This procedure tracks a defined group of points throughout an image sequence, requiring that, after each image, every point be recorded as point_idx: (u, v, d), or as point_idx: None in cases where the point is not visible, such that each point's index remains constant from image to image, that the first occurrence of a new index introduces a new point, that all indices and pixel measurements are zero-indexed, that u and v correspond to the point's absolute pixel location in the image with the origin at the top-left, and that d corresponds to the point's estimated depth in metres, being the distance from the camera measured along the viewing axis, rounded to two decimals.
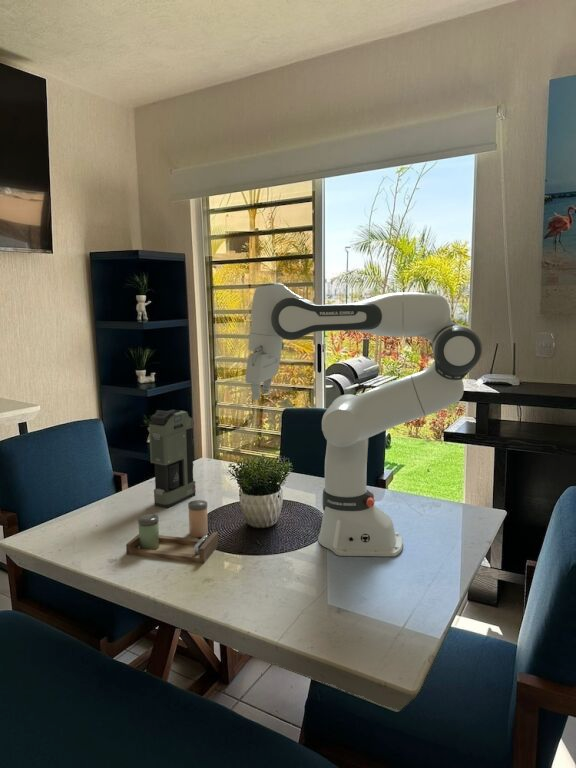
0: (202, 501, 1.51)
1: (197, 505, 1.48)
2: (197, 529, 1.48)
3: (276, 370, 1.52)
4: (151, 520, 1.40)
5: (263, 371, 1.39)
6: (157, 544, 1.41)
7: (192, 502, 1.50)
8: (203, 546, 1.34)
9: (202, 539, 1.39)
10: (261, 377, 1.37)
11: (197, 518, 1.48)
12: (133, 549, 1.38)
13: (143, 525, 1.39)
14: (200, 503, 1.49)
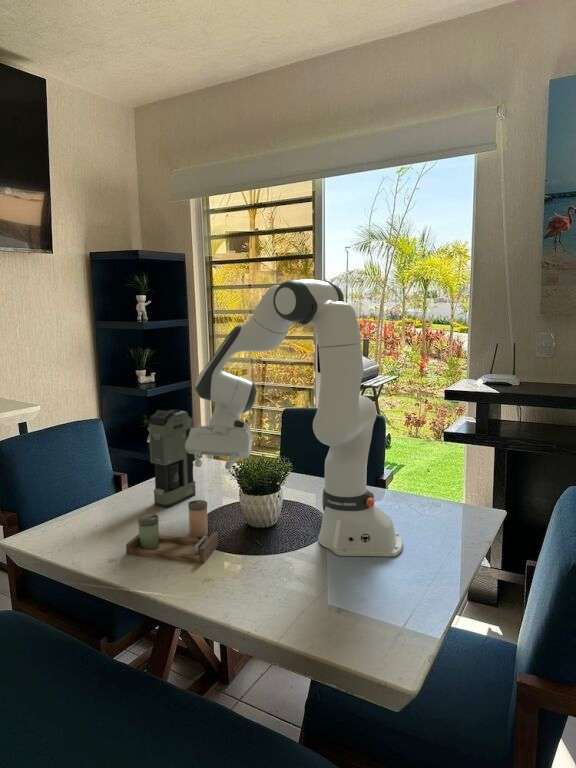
0: (202, 501, 1.51)
1: (197, 505, 1.48)
2: (197, 529, 1.48)
3: (240, 447, 1.61)
4: (151, 520, 1.40)
5: (198, 440, 1.65)
6: (157, 544, 1.41)
7: (192, 502, 1.50)
8: (203, 546, 1.34)
9: (202, 539, 1.39)
10: (192, 443, 1.64)
11: (197, 518, 1.48)
12: (133, 549, 1.38)
13: (143, 525, 1.39)
14: (200, 503, 1.49)
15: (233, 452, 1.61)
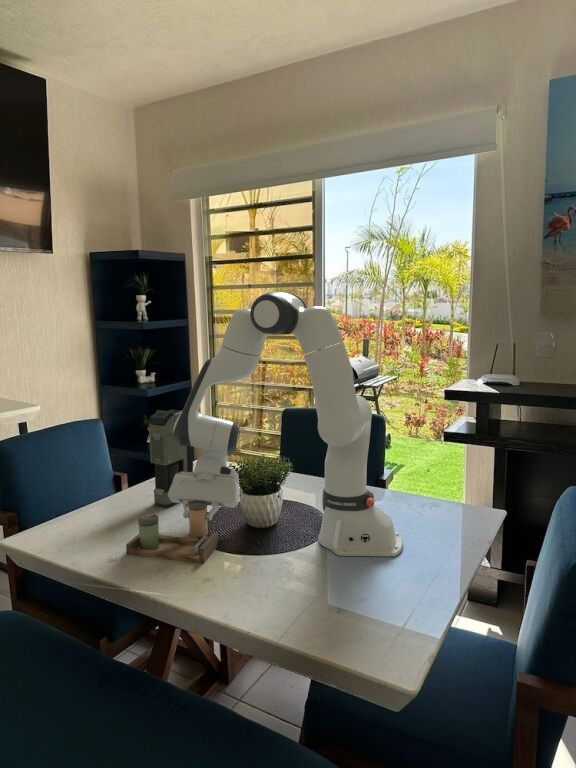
0: (202, 501, 1.51)
1: (197, 505, 1.48)
2: (197, 529, 1.48)
3: (227, 496, 1.50)
4: (151, 520, 1.40)
5: (182, 488, 1.54)
6: (157, 544, 1.41)
7: (192, 502, 1.50)
8: (203, 546, 1.34)
9: (202, 539, 1.39)
10: (175, 492, 1.53)
11: (197, 517, 1.48)
12: (133, 549, 1.38)
13: (143, 525, 1.39)
14: (200, 503, 1.49)
15: (219, 502, 1.50)
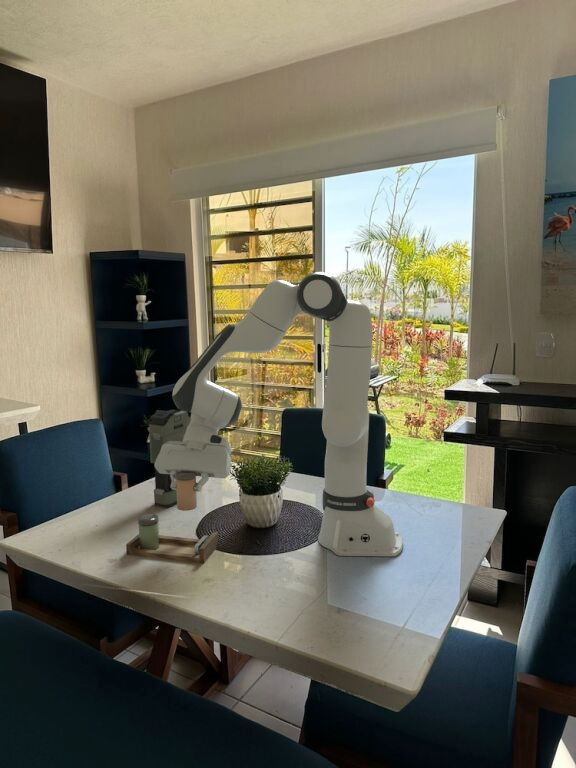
0: None
1: (185, 475, 1.38)
2: (185, 501, 1.38)
3: (217, 466, 1.40)
4: (151, 520, 1.40)
5: (169, 458, 1.44)
6: (157, 544, 1.41)
7: (180, 472, 1.40)
8: (203, 546, 1.34)
9: (202, 539, 1.39)
10: (162, 462, 1.43)
11: (185, 488, 1.37)
12: (133, 549, 1.38)
13: (143, 525, 1.39)
14: (189, 473, 1.39)
15: (209, 472, 1.39)
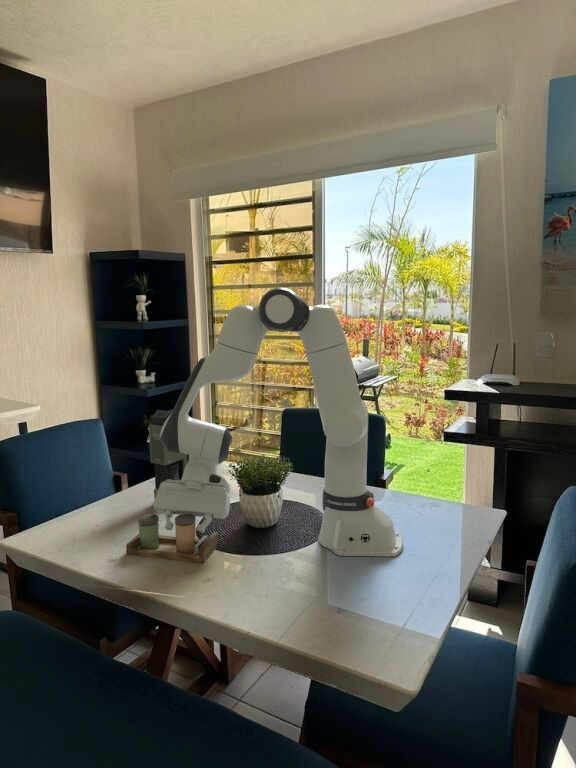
0: (190, 515, 1.40)
1: (184, 520, 1.37)
2: (185, 546, 1.37)
3: (216, 507, 1.39)
4: (151, 520, 1.40)
5: (168, 498, 1.43)
6: (157, 544, 1.41)
7: (179, 516, 1.39)
8: (203, 546, 1.34)
9: (202, 539, 1.39)
10: (161, 502, 1.42)
11: (184, 533, 1.37)
12: (133, 549, 1.38)
13: (143, 525, 1.39)
14: (188, 518, 1.39)
15: (208, 513, 1.39)
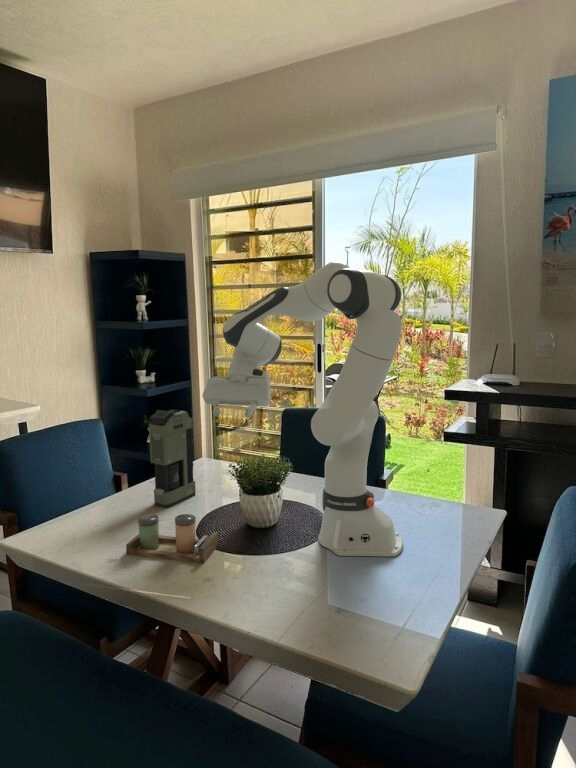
0: (190, 515, 1.40)
1: (184, 520, 1.37)
2: (185, 546, 1.37)
3: (259, 395, 1.57)
4: (151, 520, 1.40)
5: (216, 389, 1.61)
6: (157, 544, 1.41)
7: (179, 516, 1.39)
8: (203, 546, 1.34)
9: (202, 539, 1.39)
10: (210, 393, 1.61)
11: (184, 533, 1.37)
12: (133, 549, 1.38)
13: (143, 525, 1.39)
14: (188, 518, 1.39)
15: (252, 400, 1.57)
